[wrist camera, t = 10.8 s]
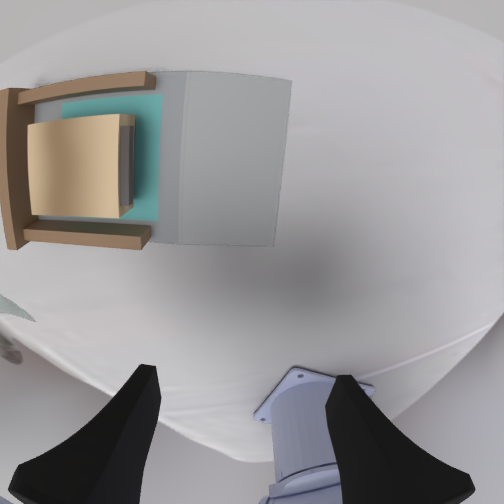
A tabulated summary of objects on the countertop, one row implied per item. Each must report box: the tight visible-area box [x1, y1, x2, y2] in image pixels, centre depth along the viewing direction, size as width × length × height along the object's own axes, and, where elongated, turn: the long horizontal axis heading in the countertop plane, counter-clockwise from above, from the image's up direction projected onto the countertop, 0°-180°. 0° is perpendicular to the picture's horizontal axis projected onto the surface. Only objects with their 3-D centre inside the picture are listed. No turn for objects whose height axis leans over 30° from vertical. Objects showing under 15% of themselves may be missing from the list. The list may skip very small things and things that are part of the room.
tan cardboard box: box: [28, 114, 136, 218], centre depth 14 cm, size 6×5×3 cm
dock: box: [0, 71, 292, 250], centre depth 15 cm, size 18×10×5 cm, turn 85°
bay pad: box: [61, 95, 163, 221], centre depth 16 cm, size 7×8×1 cm
